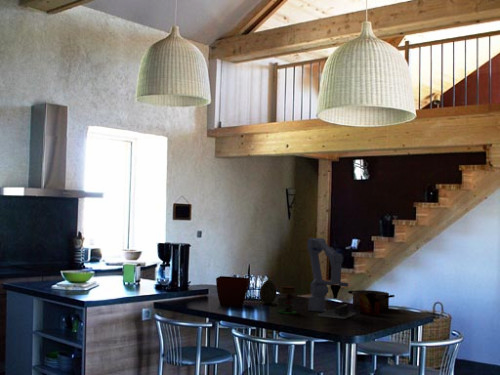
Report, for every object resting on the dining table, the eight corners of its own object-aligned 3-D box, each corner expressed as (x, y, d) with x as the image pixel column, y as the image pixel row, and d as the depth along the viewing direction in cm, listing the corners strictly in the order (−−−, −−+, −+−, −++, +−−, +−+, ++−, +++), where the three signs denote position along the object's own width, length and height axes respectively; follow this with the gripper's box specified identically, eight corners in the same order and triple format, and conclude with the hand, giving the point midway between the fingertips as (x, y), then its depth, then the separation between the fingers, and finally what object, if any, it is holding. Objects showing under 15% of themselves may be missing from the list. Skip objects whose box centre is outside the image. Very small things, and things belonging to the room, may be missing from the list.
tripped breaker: (334, 314, 361) (335, 307, 362) (336, 314, 365) (337, 306, 365) (339, 315, 360) (339, 307, 360) (341, 314, 364) (341, 307, 364)
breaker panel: (318, 316, 363) (318, 312, 364) (330, 311, 383) (330, 308, 383) (345, 318, 357) (345, 315, 357) (356, 314, 376) (356, 310, 377)
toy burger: (301, 312, 374) (302, 287, 375) (290, 314, 364) (292, 288, 365) (284, 310, 381) (285, 285, 382) (273, 312, 371) (274, 286, 371)
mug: (378, 316, 372) (379, 295, 373) (356, 313, 380) (357, 293, 380) (384, 314, 380) (385, 294, 380) (363, 312, 388) (363, 292, 388)
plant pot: (249, 304, 402) (250, 277, 403) (245, 308, 383) (247, 280, 384) (219, 302, 404) (220, 275, 405) (214, 306, 385) (215, 278, 386)
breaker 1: (338, 313, 368) (338, 306, 368) (340, 312, 371) (340, 305, 372) (342, 313, 367) (342, 306, 367) (344, 313, 370) (344, 305, 370)
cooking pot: (341, 308, 401) (341, 291, 402) (355, 305, 420) (356, 288, 420) (386, 314, 385) (386, 296, 385) (399, 310, 403) (400, 293, 404)
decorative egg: (270, 305, 401) (271, 281, 402) (256, 303, 407) (257, 279, 407) (279, 303, 410) (280, 280, 411) (264, 301, 416) (265, 278, 417)
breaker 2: (342, 312, 374) (342, 304, 374) (344, 311, 378) (344, 304, 378) (346, 312, 373) (346, 305, 373) (348, 311, 377) (348, 304, 377)
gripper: (321, 274, 369) (321, 297, 369) (346, 276, 363) (345, 300, 362) (325, 273, 376) (325, 296, 375) (349, 275, 369) (348, 298, 369)
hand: (335, 298), depth 369 cm, fingers closed
